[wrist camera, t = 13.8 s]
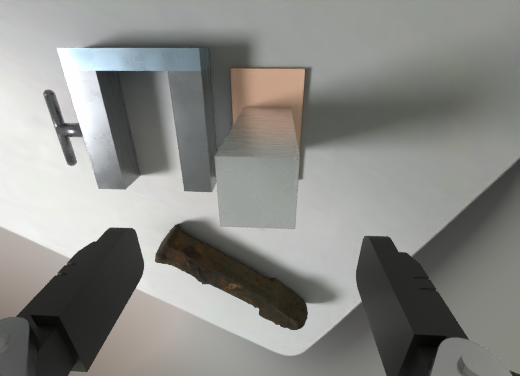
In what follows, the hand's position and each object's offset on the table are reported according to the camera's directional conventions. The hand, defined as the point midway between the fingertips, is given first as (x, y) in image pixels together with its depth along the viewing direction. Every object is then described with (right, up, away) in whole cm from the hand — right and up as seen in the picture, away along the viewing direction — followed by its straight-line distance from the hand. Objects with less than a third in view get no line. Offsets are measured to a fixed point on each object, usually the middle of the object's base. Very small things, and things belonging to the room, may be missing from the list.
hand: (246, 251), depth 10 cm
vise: (-11, +9, +15) cm, 20 cm away
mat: (+1, +8, +15) cm, 17 cm away
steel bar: (+1, +7, +15) cm, 16 cm away
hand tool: (-2, -7, +23) cm, 24 cm away
